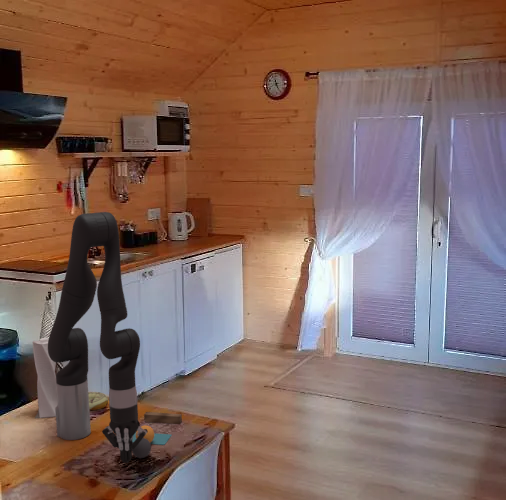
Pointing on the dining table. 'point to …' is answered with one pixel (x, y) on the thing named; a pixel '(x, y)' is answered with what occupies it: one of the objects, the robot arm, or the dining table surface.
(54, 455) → the dining table surface
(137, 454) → the gray ball
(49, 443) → the dining table surface
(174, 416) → the walnut strip
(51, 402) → the skyscraper
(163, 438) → the teal mark
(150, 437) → the orange ball
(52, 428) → the dining table surface
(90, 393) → the decorated donut
